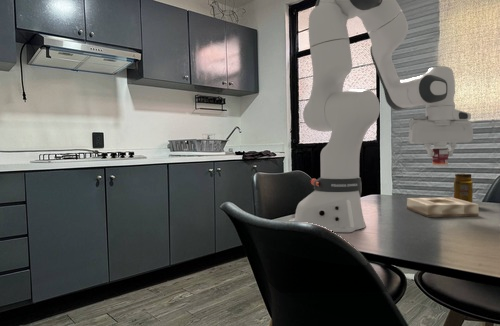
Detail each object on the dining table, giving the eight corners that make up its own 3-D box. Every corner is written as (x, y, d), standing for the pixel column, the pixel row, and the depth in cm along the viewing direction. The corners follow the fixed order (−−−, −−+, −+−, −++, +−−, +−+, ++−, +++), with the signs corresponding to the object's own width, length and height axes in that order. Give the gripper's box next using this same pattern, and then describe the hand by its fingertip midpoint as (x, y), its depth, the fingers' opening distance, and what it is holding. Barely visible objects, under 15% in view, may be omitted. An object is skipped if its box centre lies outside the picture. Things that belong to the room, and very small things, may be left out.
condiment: (476, 205, 131) (476, 173, 131) (470, 208, 125) (470, 175, 125) (454, 203, 136) (454, 172, 136) (447, 206, 130) (447, 174, 130)
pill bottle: (429, 165, 121) (429, 141, 121) (443, 165, 121) (443, 141, 121) (436, 166, 116) (436, 141, 116) (451, 165, 116) (450, 140, 116)
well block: (427, 217, 112) (427, 205, 112) (407, 208, 128) (406, 198, 128) (478, 216, 111) (478, 204, 111) (451, 207, 127) (451, 197, 127)
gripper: (412, 115, 115) (413, 157, 116) (476, 114, 114) (476, 156, 115) (405, 117, 122) (405, 157, 122) (464, 115, 121) (464, 155, 121)
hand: (440, 156), depth 118 cm, fingers closed on pill bottle, 5 cm apart
